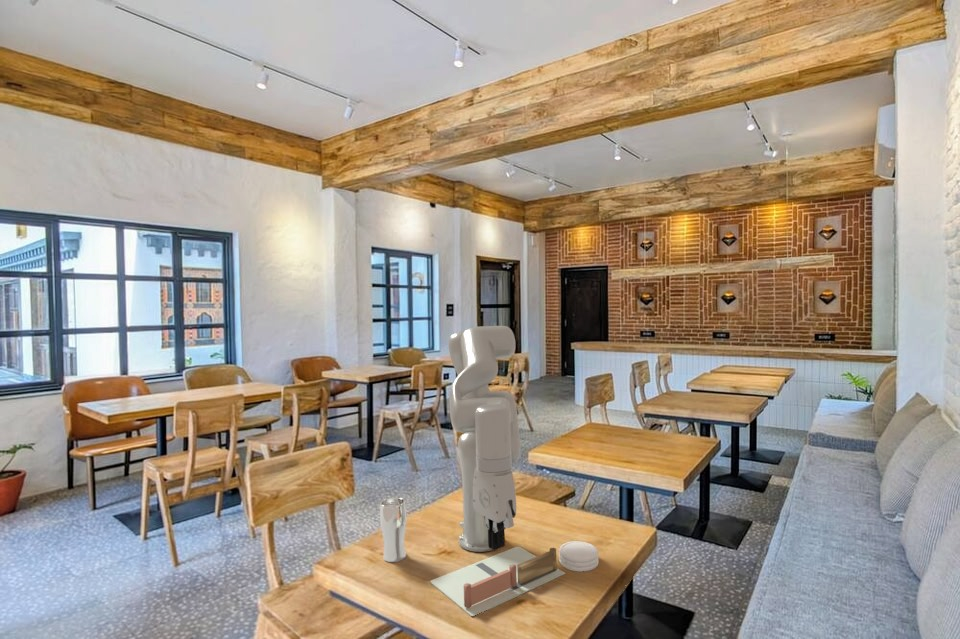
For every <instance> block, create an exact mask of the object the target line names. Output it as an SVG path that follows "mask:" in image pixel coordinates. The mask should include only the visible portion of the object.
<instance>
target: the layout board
mask: <svg viewBox="0 0 960 639" xmlns="http://www.w3.org/2000/svg"><path fill="white" fill-rule="evenodd" d="M534 557H537V556H536V555H535V554H533V553H531V552H529V551H527V550H525V549H524V548H522V547H520V546H518V545H517V546H515V547H512V548H510V549H507V550H505V551H502V552H499V553H497V554H495V555H492V556H490V557H487V558H485V559H482V560H479V561H477V562H475V563H472V564H469V565H467V566H464V567H461V568H459V569H457V570H453V571H451V572H449V573H446V574H444V575H441V576H439V577H436V578H433V579H432V580H429V583H430V584H431V585H433V586H434V587H435V588H436V589H438V591H440V592H441V593H442V594H443V595H444V596H446V597H447V598H448V599H449V598H450V599H449V600H451V601H452V603H454V604H455V605H457V607H459V608H460V609H461V610H463V612H465V613H466V614H467V613H468V614H467V615H469V617H471V616H474V617H475V615H476V616H478V615H480V614H482V613H484V611H485V612H487V611H489V610H491V609H493V608H495V607H497V606H500V605H501V604H503V603H506V602H509V601H510V600H512V599H514V598H516V597H519V596H521V595H523V594H525V593H527V592H529V591H532V590H533V589H536V588H538V587H540V586H542V585H544V584H547V583H548V582H551V581H552V580H555V579H557V578H559V577H561V576H564V575H566V573H565V571H563V570H561V569H559V568H557V570H555V571H553V570H551V571H549V572H547V573H544V574H542V575H540V576H538V577H536V578H533V579H531V580H529V581H527V582H525V583H522V584H519V583H518V572H517V565H518V564H520V563H523V562H525V561H527V560H530V559H532V558H534ZM512 564H514V565H516V578H517V586H516V587H511V588H509V589H507V590H505V591H503V592H501V593H498V594H496V595H494V596H492V597H490V598H487V599H485V600H483V601H481V602H478V603H476V604H474V605H472V606H471V607H469V608H466V607H464V584H466V583H469V584H471V585H472V584H474V583H477V582H479V581H481V580H484V579H486V578H488V577H491V576H493V575H496V574H498V573H500V572H503V571H505V570H507V569H508V570H509V566H510V565H512ZM486 610H487V611H486ZM481 612H482V613H481ZM479 613H480V614H479ZM477 614H478V615H477Z"/></svg>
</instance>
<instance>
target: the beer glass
mask: <svg viewBox="0 0 960 639" xmlns="http://www.w3.org/2000/svg"><path fill="white" fill-rule="evenodd" d="M379 505H380V506H379V523H380V530H381V534H382V535H381V536H382V539H383V545H384V546H383V555H382V556H383V557H382V558H383V560H384V561H385V562H386V563H387V562H388V563H398V562H400V561H403V560H405V558H406V557H407V551H406V549H405V535H406V530H407V529H406V528H407V508H406V500H405V499H404V498H402V497H388V498H385V499H382V500H381V501H380V503H379Z"/></svg>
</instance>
